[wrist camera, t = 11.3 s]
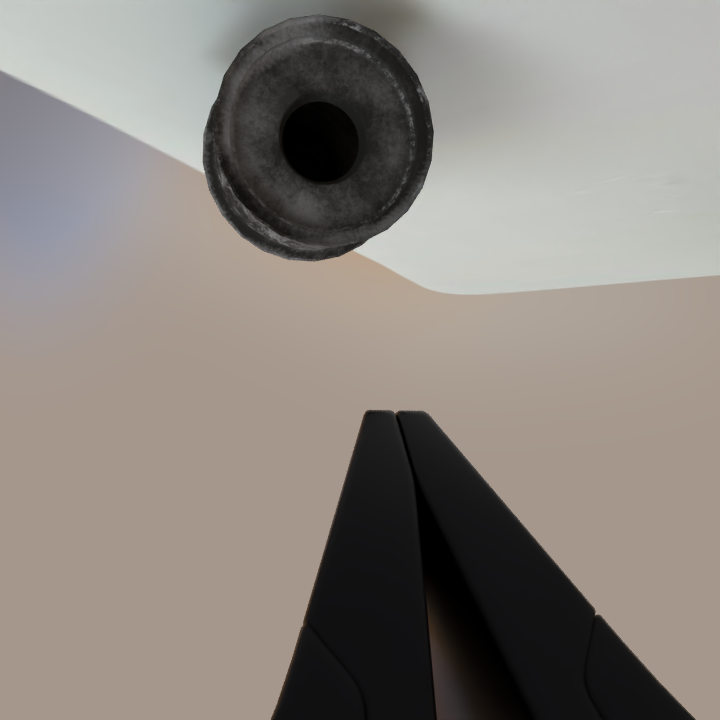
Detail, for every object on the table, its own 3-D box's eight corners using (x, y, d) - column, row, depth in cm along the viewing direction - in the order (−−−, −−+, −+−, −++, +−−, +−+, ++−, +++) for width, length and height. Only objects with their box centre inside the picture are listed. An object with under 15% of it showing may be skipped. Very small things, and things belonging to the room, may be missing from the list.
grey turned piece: (360, -49, 15) (294, 92, 26) (145, 87, 14) (175, 170, 26) (486, 174, 16) (371, 214, 28) (297, 306, 15) (260, 291, 27)
